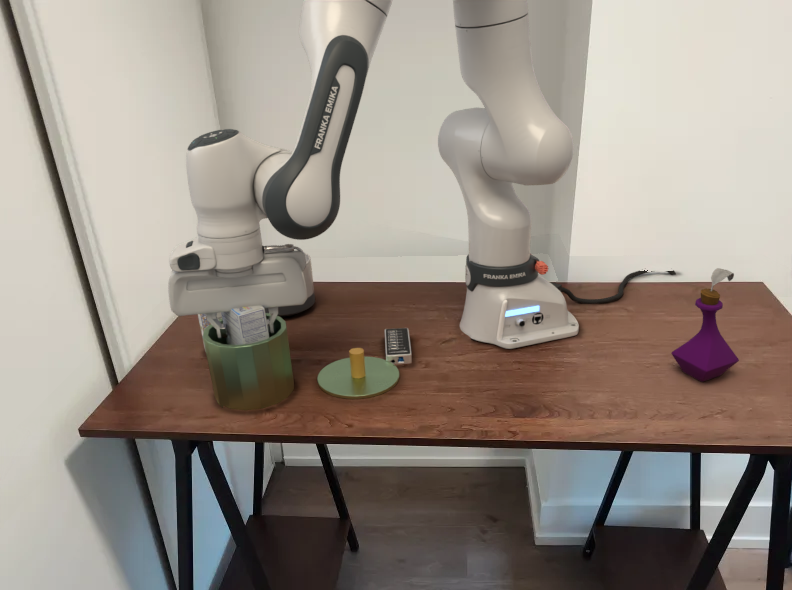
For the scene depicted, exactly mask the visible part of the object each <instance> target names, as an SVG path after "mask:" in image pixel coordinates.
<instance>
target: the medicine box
mask: <svg viewBox="0 0 792 590" xmlns="http://www.w3.org/2000/svg"><path fill="white" fill-rule="evenodd" d="M221 315H222V320H223V324H227V329H228V337H227V338H226V341H227V344H229V345H242V344H252V343H255V342H259V341H263V340H266V339H267V338H269V332H268V326H267V320H266V314H265V309H264V307H262V306H249V307H241V308H235V309H231V311H230V312H221Z"/></svg>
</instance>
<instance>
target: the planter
mask: <svg viewBox="0 0 792 590" xmlns="http://www.w3.org/2000/svg"><path fill="white" fill-rule="evenodd" d="M304 254H305V259H306V267H305V269H304V271H303V274H304V279H305V283H306V289H307V300H306V301H305V303H304V304H302V305H294V306H283V307H278V315H277V316H280V317H281V318H285V317H291V316H294V315H298V314H300V313H303V312H304V311H306V310H308V309H311V307H313V305H314V304H315V303H316V293H315V287H314V286H315V284H314V278H313V277H314V276H313V267H312V266H313V265H312V258H311V256H310V254H308V253H307V252H304ZM264 309H265V313H269V309H268V308H264Z"/></svg>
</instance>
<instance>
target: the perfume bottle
mask: <svg viewBox="0 0 792 590" xmlns="http://www.w3.org/2000/svg"><path fill="white" fill-rule="evenodd" d="M734 276H735V273H734V272H732V271H730V270H728V269H724V268H719V267H717V268H716V269H714V270H713V272H712V274H711V276H710V279H711V286H710V287H711V288H703V289H700V297H699V298H697V299H695V304H694V305H695V306H696V308H698V309H700V311H701V313H702V324H701V327H700V329H699V330H698V331H697V332H696V334H695V335H693V337H692V338H690V339H689V340H688V341H686V342H685V343H683V344H681V345H680V346H679V347H677V348H676V349H674V350H673V351H671V354H670V355H672V358H673V359H674V360H675V361H676V363H677V365H678V367H679V368H680V369H681V371H682V372H683V373H685V374H687V375H688V376H690V377H692V378H694V379H695V380H697V381H700V382H701V383H704V382H706V381H709V380H712V379H715V378H718V377H720V376H721V375H723V374H724V373H726V372H727V371H729V370H730V369H731V368H732V367H733V366H734V365H736V364H737V363H738V362H739V361H740V359H739V358H738V356H737V355H736V353H735V352H734V351H733V350H732V348H731V347H730V346H729V344H728V342H727V341H726V340H725V338H724V337H723V336H722V334H721V332H720V330H719V327H718V323H717V317H716V316H717V312H718V311H720V310H722V309H723V308H724V307H723V306H724V304H723V303H724V302H722V301H721V300H720V298H721V294H720V293H719V292H718V291H717V290H715V289H714V286H715V285H717V284H719V283H720V282H722V281H724V280H725V279H726V278H727V280H728V282H731V281H732V280H733V279H734Z"/></svg>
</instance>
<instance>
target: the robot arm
mask: <svg viewBox="0 0 792 590" xmlns="http://www.w3.org/2000/svg"><path fill="white" fill-rule="evenodd" d="M392 3H393V0H303V1H302V5H301V10H300V15H299V24H298V36H299V40H300V43H301V46H302V48H303V50H304V53H305V55H306V58H307V60H308V61H307V62H308V64H309V68H310V76H311V82H310V83H311V84H310V86H311V87H310V91H309V96H308V100H307V103H306V107H305V109H304V110H305V111H304V114H303V118H302V121H301V125H300V128H299V131H298V134H297V138H296V142H295V145H294V148H293V150H290V149H287V148H282V147H276V146H272V145H268V144H265V143H262V142H260V141H257V140H255V139H253V138H251V137H249V136H247V135H245V134H244V133H242V132H241V131H240V130H238V129H232V128H223V129H217V130H213V131H209V132H207V133H204V134H201V135H199V136H197V137H196V138H193V140H192V141H191V142H190V144H189V145H188V146H187V149H186V155H185V167H186V168H185V169H186V176H187V184H188V185H187V186H188V191H189V196H190V197H189V198H190V201H191V204H192V207H193V208H194V211H195V214H196V217H197V220H196V221H197V223H196V225H197V226H196V234H197V236H196V237H193V238H191V239H189V240H185V241H183V242H181V243H178V244H176V245H175V247H173V249H172V250H171V253H170V255H169V259H168V263H169V266H170V270H171V271H170V275H169V277H168V280H167V281H168V282H167V292H168V303H169V307H170V310H171V312H172V313H174V314H175V316H177V317H185V316H196V315H197V316H198V314H206V317H207V320H208V321H209V322H210V324H211V325H212V326H213V327H214V328H215V329H216V330H217V335H218V338H227V337H228V329H227V324H221V322H220V321H219V320H218V319H217V318H216V316H217V313H219V312H230V311H231V309H235V308H241V307H249V306H262V307H264V308H268V309H269V313H270V317H269V319H267V326H268V332H269V333H274V325H273V323H274V321H275V319H276V317H277V315H278V307H283V306H294V305H302V304H304V303H305V301H306V300H307V289H306V283H305V279H304V274H303V271H304V269H305V267H306V259H305V254H304V253H305V251H304V250H303V249H302V248H301V247H298V246H296V245H295V246H294V244H293V243H286V244H278V245H277V244H272V245H271V244H270V245H264V244H263V240H262V233H261V224H260V222H261V221H262V220H264V219H268V221H269V223H270V225H271V226H272V227H273V228H274V230H275V231H277V232H278V233H279V234H280V235H282V236H284V237H286V238H288V239H291V240H297V241H305V240H310V239H314V238H316V237H319V236H321V235H322V234H323V233H325V232H327V231H328V229H329V228H330V227H331V226H332V225H333V224H334V222H335V221H336V219H337V216H338V214H339V211H340V206H341V172H342V171H341V169H342V164H343V161H344V157H345V154H346V151H347V147H348V144H349V140H350V137H351V135H352V131H353V127H354V123H355V120H356V117H357V113H358V110H359V107H360V103H361V100H362V96H363V91H364V88H365V84H366V80H367V77H368V73H369V69H370V67H371V62H372V59H373V57H374V55H375V54H374V53H375V52H376V48H377V45H378V43H379V40H380V38H381V35H382V32H383V30H384V27H385V24H386V21H387V19H388V15H389V13H390V9H391V7H392ZM452 5H453V18H454V28H455V36H456V43H457V45H456V46H457V52H458V53H457V54H458V60H459V61H458V62H459V71H460V75H461V78H462V80H463V82H464V83H465V85H466V86H467V87H468V88H469V89H470V90H471V91H472V92H473V93H475V95H476V96H477V97H478V99H479V100H480V101H481V103H482V105H483V107H470V108H465V109H464V108H463V109H458V110H455V111H452V112H451V113H449V114H448V115H447V116H446V117H445V119H444V120H443V122H442V123H441V126H440V128H439V131H438V135H437V148H438V152H439V155H440V158H441V159H442V160H443V162H444V163H445V165H447V166H448V168H449V169H450V170H451V172H452V174H453V175H454V178H455V180H456V181H457V183H458V186H459V188H460V191H461V194H462V197H463V200H464V205H465V208H466V209H465V210H466V213H467V215H466V216H467V229H468V231H467V232H468V233H467V234H468V254H467V255H466V258H465V259H466V260H465V268H464V269H465V270H464V279H465V286H466V293H465V294H466V295H465V301H464V307H463V311H462V315H461V319H460V320H459V321H460V322H459V329H460V331H461V332H462V333H463V334H465V335H466V336H468V337H469V338H470V339H472V340H474V341H478V342H480V343H487V344H491V345H496V346H498V347H499V348H503V349H506V350H512V349H516V348H522V347H526V346H531V345H536V344H541V343H547V342H550V341H556V340H561V339H566V338H570V337H574V336H577V335H578V334H579V331H580V325H579V321H578V320H577V319H576V317H575V316H574V314H573V313H572V312H570V311H569V310H568V305H567V301H566V298H565V296H564V295H563V294H565V295H567V297H568V298H569V299H570V300H571V301H572V302H575V303H577V304H583V305H584V304H587V305H589V304H590V305H600V304H606V303H610V302H615V301H618V300H619V299H621V298H622V297H623V295H624V290H625V289H624V288H625V286H626V285H627V284H628V282H629V280H630V279H633V278H634V277H637V276H641V275H644V274H648V273H649V272H647V271H648V270H647V271H645V270H644V271H640V270H637V271H633V272H630V273H628V274H627V275H626V276H624V279H622V281H621V283H620V284H619V285H618V292H617V293H616V294H614V295H611V296H608V297H603V298H592V299H591V298H590V299H589V298H581V297H578V296H576V295H575V294H574V293H573V292H572V291H571V290H570V289H568V288H567V287H563V285H562V283H561V284H560V283H556V282H551V281H549V280H547V279H546V278H545V277H543V275H546V274H547V273H548V272H549V266H548V264H546V262H544V261H543V260H540V259H539V258H538V257H537V256H535V255H534V254H532V253H531V241H532V223H533V220H532V219H533V218H532V215H531V212H530V210H529V208H528V206H527V205H526V204H525V203H524V202H523V201H522V200H521V198H520V197H519V196H518V193H517V191H516V190H515V187H514V185H513V184H518V185H521V186H522V185H523V186H545V185H553V184H556V183H557V182H559V181H560V180H561V179H562V178H563V177H564V176H565V174H566V173H567V172H568V170H569V169H570V167H571V164H572V162H573V158H574V155H575V143H574V138H573V134H572V132H571V130H570V128H569V127H568V125H567V124H565V123H564V122H563V121H562V120H561V119H560V118H559V117H558V116H557V115H556V113H555V112H554V111H553V109H552V108H551V107H550V104H549V103H548V101H547V100H546V98H545V95H544V94H543V91H542V88H541V86H540V84H539V81H538V78H537V75H536V72H535V67H534V61H533V54H532V44H531V33H530V32H531V31H530V22H529V21H530V20H529V6H528V5H529V3H528V0H452ZM652 272H654V271H651V272H650V273H652ZM665 272H667V273H668V274H670V275H671V276H677V273H676V271H675V270H674V269H673V271H665Z"/></svg>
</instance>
